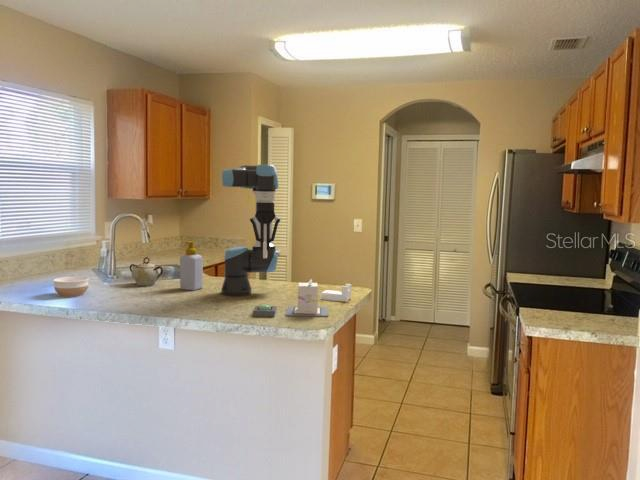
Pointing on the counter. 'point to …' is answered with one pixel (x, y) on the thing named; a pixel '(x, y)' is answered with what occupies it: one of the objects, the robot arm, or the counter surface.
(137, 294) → the counter surface
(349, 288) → the bracket
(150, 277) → the sugar bowl
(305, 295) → the ink box
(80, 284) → the bowl
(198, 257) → the soap bottle
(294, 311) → the clipboard
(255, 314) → the button housing
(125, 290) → the counter surface
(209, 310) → the counter surface
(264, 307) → the button
